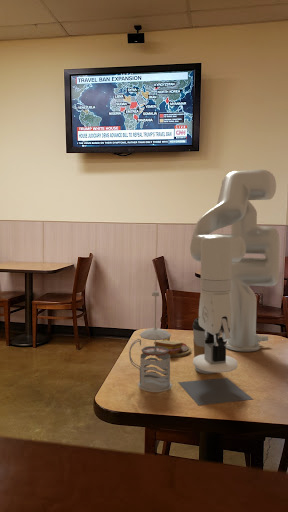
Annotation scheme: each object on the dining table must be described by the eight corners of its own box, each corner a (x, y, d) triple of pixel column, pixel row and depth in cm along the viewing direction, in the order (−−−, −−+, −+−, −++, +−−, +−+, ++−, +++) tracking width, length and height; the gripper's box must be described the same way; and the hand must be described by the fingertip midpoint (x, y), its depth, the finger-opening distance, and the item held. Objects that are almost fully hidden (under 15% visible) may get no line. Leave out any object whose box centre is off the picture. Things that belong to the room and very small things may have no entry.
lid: (225, 355, 103) (225, 337, 103) (245, 370, 93) (245, 350, 92) (186, 358, 101) (186, 340, 100) (203, 374, 90) (203, 354, 90)
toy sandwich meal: (198, 352, 130) (198, 338, 130) (174, 361, 120) (174, 346, 120) (169, 344, 139) (169, 331, 138) (144, 353, 129) (144, 339, 128)
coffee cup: (220, 378, 106) (221, 324, 105) (190, 375, 108) (191, 322, 107) (221, 367, 114) (221, 317, 113) (192, 365, 116) (193, 316, 115)
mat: (226, 379, 105) (226, 377, 105) (253, 401, 91) (253, 399, 91) (178, 384, 101) (178, 382, 101) (198, 407, 88) (198, 405, 88)
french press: (175, 394, 95) (176, 294, 93) (128, 394, 95) (128, 293, 93) (172, 379, 104) (173, 288, 103) (130, 379, 105) (130, 288, 103)
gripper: (189, 281, 102) (189, 348, 104) (216, 292, 86) (215, 371, 88) (215, 280, 104) (214, 346, 105) (246, 290, 88) (245, 368, 89)
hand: (215, 356), depth 96 cm, fingers closed on lid, 4 cm apart
